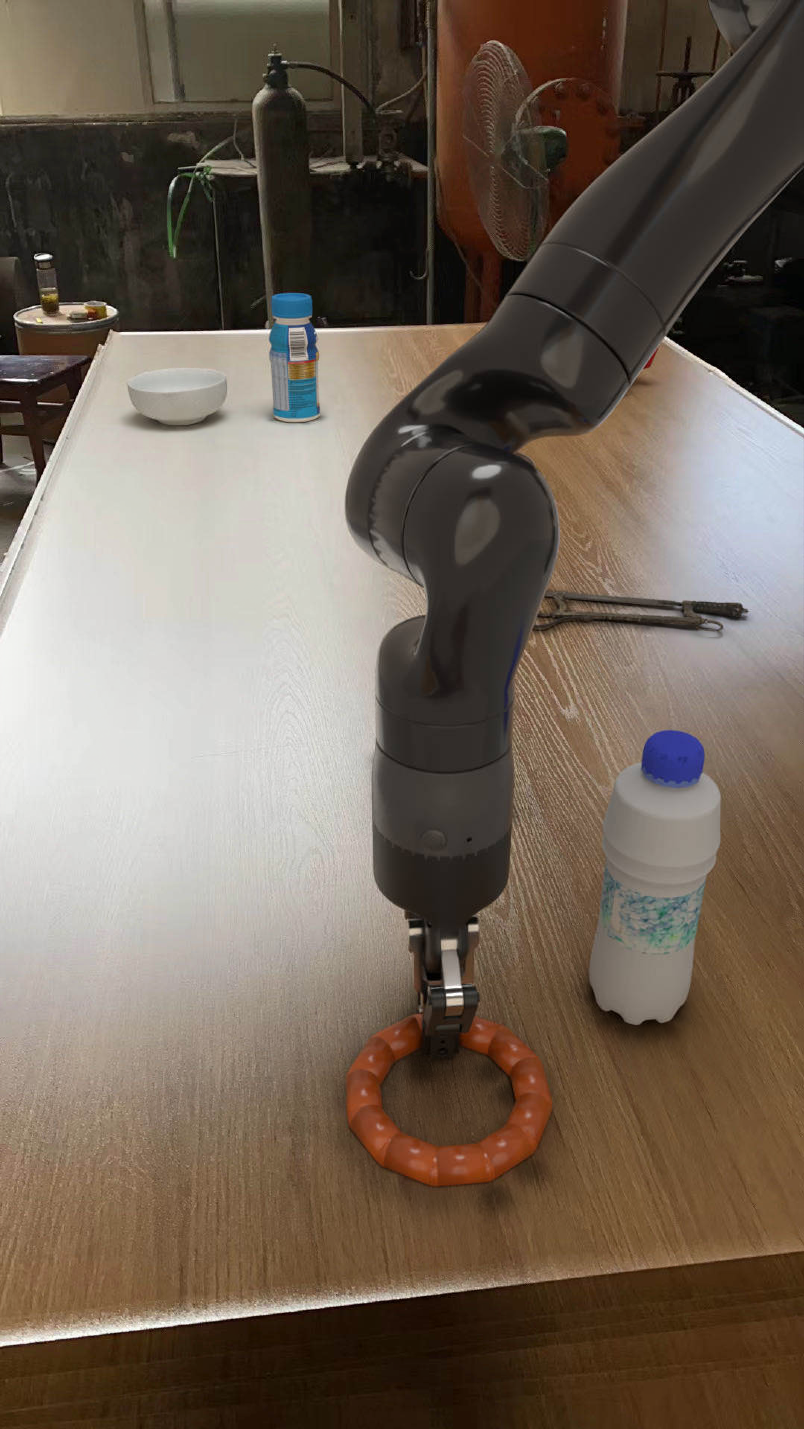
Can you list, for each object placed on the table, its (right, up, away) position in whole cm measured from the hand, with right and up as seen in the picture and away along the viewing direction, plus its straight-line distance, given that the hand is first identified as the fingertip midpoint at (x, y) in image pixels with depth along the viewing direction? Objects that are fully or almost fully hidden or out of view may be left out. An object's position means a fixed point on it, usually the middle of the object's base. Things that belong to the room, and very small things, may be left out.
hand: (437, 1037), depth 67 cm
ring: (0, -2, -4) cm, 5 cm away
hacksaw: (+23, +30, +53) cm, 65 cm away
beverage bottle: (-21, +72, +124) cm, 144 cm away
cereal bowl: (-41, +71, +122) cm, 147 cm away
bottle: (+13, +1, +4) cm, 13 cm away
